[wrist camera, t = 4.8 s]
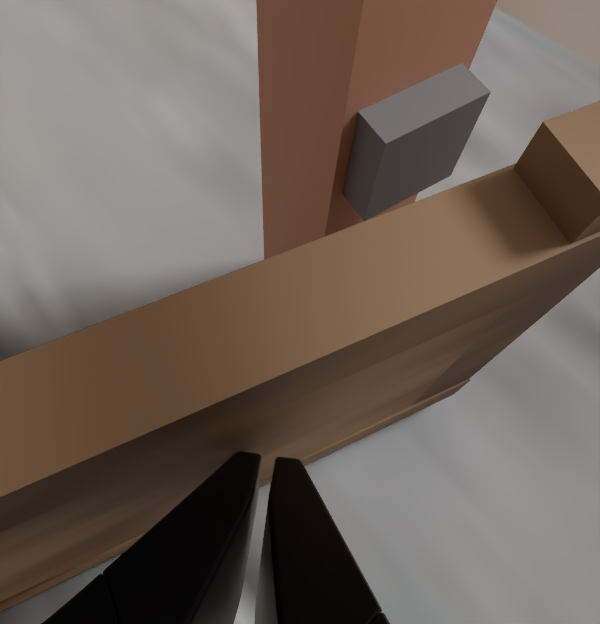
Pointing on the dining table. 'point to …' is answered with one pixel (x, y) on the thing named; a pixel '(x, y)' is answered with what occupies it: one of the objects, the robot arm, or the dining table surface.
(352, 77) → the post
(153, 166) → the dining table surface
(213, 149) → the dining table surface
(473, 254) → the gate
